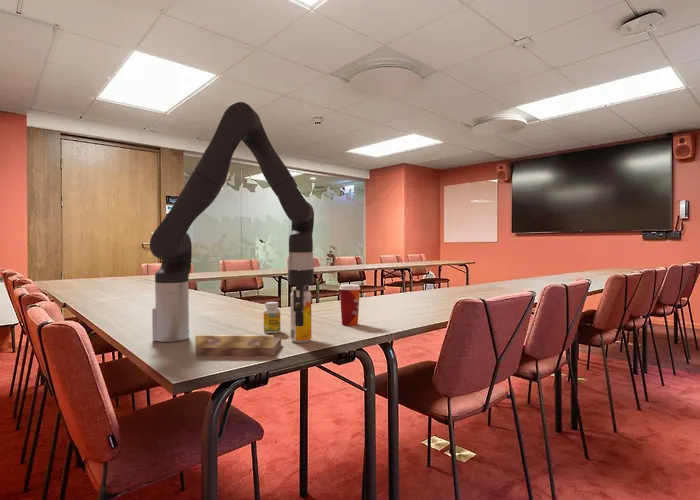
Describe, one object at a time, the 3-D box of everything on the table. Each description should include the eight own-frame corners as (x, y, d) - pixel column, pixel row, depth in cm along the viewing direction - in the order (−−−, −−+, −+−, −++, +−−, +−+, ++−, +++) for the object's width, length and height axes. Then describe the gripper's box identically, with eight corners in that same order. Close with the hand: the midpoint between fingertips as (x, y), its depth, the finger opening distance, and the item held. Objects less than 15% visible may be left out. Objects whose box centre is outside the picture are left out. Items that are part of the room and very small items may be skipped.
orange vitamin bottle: (315, 340, 121) (315, 290, 121) (299, 344, 117) (299, 291, 117) (302, 337, 125) (302, 288, 125) (286, 341, 121) (286, 290, 121)
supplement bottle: (276, 329, 137) (276, 301, 137) (283, 332, 132) (283, 302, 132) (261, 331, 134) (261, 302, 134) (267, 334, 129) (267, 304, 129)
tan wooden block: (195, 355, 105) (195, 336, 105) (210, 344, 116) (210, 327, 116) (273, 355, 105) (272, 336, 105) (281, 345, 116) (280, 327, 116)
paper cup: (360, 326, 142) (360, 286, 142) (338, 326, 142) (338, 286, 142) (360, 322, 150) (360, 283, 149) (339, 322, 150) (339, 283, 150)
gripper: (292, 266, 128) (292, 318, 128) (284, 269, 114) (284, 328, 114) (316, 266, 128) (316, 318, 128) (311, 269, 114) (311, 327, 114)
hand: (301, 322), depth 121 cm, fingers open, 8 cm apart
